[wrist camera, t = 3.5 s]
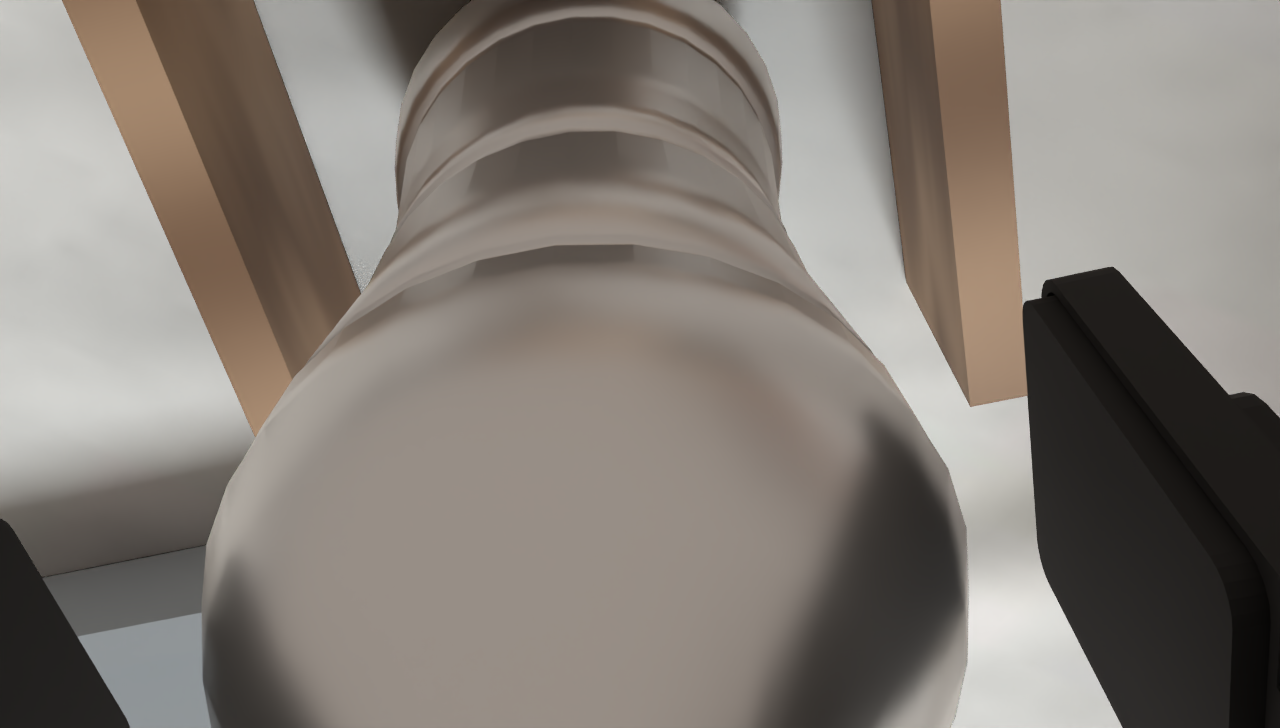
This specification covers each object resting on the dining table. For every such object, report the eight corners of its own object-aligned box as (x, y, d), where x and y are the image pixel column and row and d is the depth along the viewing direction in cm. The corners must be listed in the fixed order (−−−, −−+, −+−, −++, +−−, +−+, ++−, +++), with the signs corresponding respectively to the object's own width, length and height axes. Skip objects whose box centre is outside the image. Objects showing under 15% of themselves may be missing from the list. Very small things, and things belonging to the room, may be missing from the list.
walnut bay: (954, 272, 25) (1028, 395, 21) (350, 397, 26) (300, 539, 22) (894, -327, 20) (976, -332, 16) (140, -142, 21) (20, -96, 17)
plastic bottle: (343, 89, 23) (-480, 1369, 6) (623, -153, 21) (732, 626, 4) (564, 326, 26) (485, 1715, 8) (832, 128, 24) (1490, 1388, 6)
